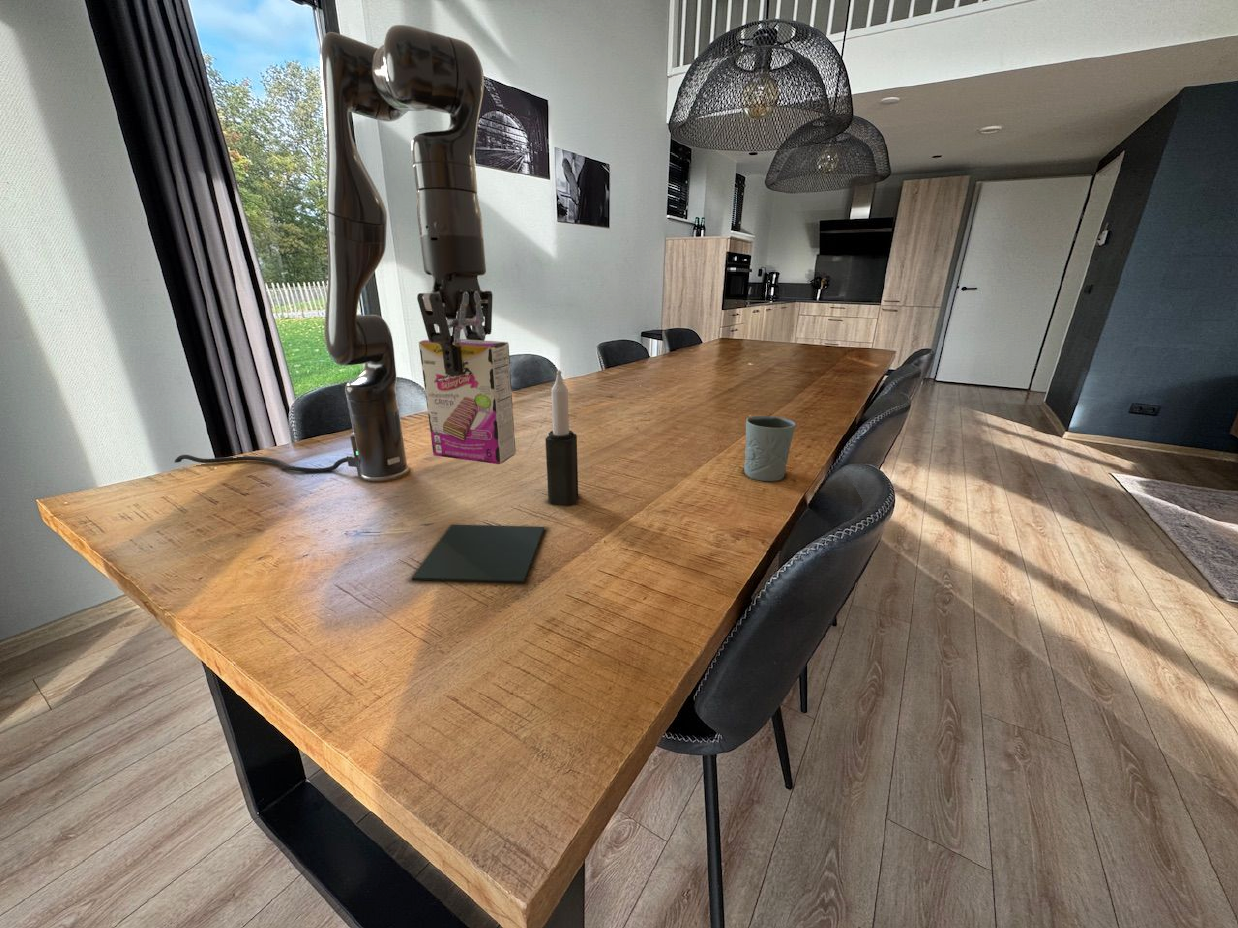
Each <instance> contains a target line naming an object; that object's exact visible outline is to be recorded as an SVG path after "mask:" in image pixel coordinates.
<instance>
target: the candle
mask: <svg viewBox="0 0 1238 928" xmlns="http://www.w3.org/2000/svg"><path fill="white" fill-rule="evenodd" d="M550 393H551V413H552V414H551V415H552V430H550V432H548V435H547V436H546V438H545V439H544V440H545V456H546V457H545V459H546V462H545V463H546V481H547V500H548V501H547V502H548V503H549V504H552V505H561V506H572V505H574V504H575V501H576V500H577V499H578V498H579V472H578V471H579V469H578V468H579V467H578V435H577V434H576V433H574V431H572V430H571V429H570V419H569V417H570V416H569V415H570V413H569V390H568V387H567V386H566V385H565V383H564V380H563V377H562V371H561V370H559V369H558V370H557V371H556V378H555V382H554V384H553V386H552V388H551V392H550Z"/></svg>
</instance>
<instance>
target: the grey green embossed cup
mask: <svg viewBox="0 0 1238 928" xmlns="http://www.w3.org/2000/svg"><path fill="white" fill-rule="evenodd" d="M796 425H797V424H796V422H795V421H793V420H791V419H789V418H786V417H785V418H784V417H779V416H772V415H754V416H750V417H748V418H746V420H745V445H744V446H745V448H744V467H743V468H744V470H743V471H744V474H745V475H746V476H747V477H748V478H751V479H753V480H757V481H761V482H777V481H781V480H782V479H784V477H785V474H786V470H787V464H788V460H789V456H790V452H791V446H792V442H793V437H794V433H795V429H796Z"/></svg>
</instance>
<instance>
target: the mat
mask: <svg viewBox="0 0 1238 928" xmlns="http://www.w3.org/2000/svg"><path fill="white" fill-rule="evenodd" d="M544 530H545V526H524V525H523V526H521V525H519V526H517V525H478V524H477V525H475V524H451V525H450V527H448V529H447V530H446V532H445V533H444V535H442V537H441V538H440V540H439V541H438V542H437V544H436V545H435V546H434V547H433V549H432V550H431V551H430V553H429V555H428V556H426V558H425V560H424V561H423V562H422V563H421V565H419V567H418V568H417V570H416V572H415V573H414V574H413V576H412V577H411V580H412V581H432V582H433V581H436V582H437V581H440V582H473V583H475V582H476V583H511V584H512V583H514V584H524V583H525V582H526V581H525V580H526V578H527V575H528V573H529V570H530V568H531V566H532V562H533V560H534V557H535V554H536V552H537V549H538V546H539V545H540V542H541V538H542V536H543V533H544Z"/></svg>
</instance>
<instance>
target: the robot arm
mask: <svg viewBox="0 0 1238 928" xmlns="http://www.w3.org/2000/svg"><path fill="white" fill-rule="evenodd" d="M384 37H385V38H384V42H383V45H381V46H380V47H379V48H377V47H375V46H373V45H369V44H367V43H364V42H362V41H359V40H356V39H354V38H351V37H349V36H346V35H343V34H341V33H338V32H333V31H328V32H327V33H326V34H325V35H324V36H323V39H322V42H321V50H320V76H321V77H320V78H321V91H322V103H323V104H322V105H323V106H322V107H323V118H324V130H325V144H326V200H325V201H326V207H325V208H326V238H327V239H326V240H327V290H326V291H327V292H326V302H325V303H326V305H325V316H324V342H325V348H326V350H327V353H328V356H329V357H330V359H331V360H332V362H334V363H335V364H337V365H340V366H356V365H364V368H363V370H362V371H361V373H360V374H359V375H357V376H356V377H354V378H353V379H351V380H350V381H348V382H347V383H345V386H344V393H345V399H346V402H347V407H348V412H349V417H350V420H351V421H350V422H351V428H352V432H351V433H350V435H349V436H350V437H349V438H350V442H351V447H352V452H353V453H351V454H349V455H347V456H346V457H342V458H340V459H338V460H337V461H335V462H334V463H333V465H331V466H326V467H305V466H297V465H291V464H288V463H286V462H285V461H282V460H281V459H277V458H273V457H267V456H257V455H242V456H243V457H238V456H235V457H237V458H233V457H234V456H226V457H214V458H213V457H212V458H202V457H197V456H193V455H190V454H181V455H179V456H177V457H176V458H175V459H174V463H181V462H182V461H183V460H188V461H192V462H195V463H200V464H214V463H216V464H217V463H228V462H238V461H240V462H241V461H254V462H265V463H271V464H276V465H278V466H281V467H282V468H284V469H285V470H288V471H294V472H299V473H310V474H311V473H314V474H315V473H328V472H331V471H335V470H336V469H338V468H339V467H340V466H341V465H342V464H343V463H347V466H348V467H352V468H355V469H356V472H357V476H358V477H360V478H361V479H362V480H363V481H368V482H375V483H376V482H386V481H387V482H388V481H392V480H396V479H399V478H401V477H404V476H405V475H407V474H408V473H409V470H410V469H409V465H408V459H407V454H406V448H405V439H404V435H403V428H402V422H401V421H402V420H401V414H400V410H399V409H400V408H399V404H398V397H397V391H396V386H397V380H398V379H397V368H396V358H395V348H394V340H393V335H392V332H391V329H390V327H389V325H388V323H387V322H386V320H385V319H384V318H383V317H382V316H380V315H377V314H358V309H359V301H360V297H361V295H362V293H363V290H364V288H365V287H366V286H367V284H368V282H369V281H370V279H371V278H372V276H373V275H374V273H375V271H376V270H377V269H378V267H379V266H380V263H381V261H382V260H383V257H384V255H385V252H386V247H387V232H388V231H387V230H388V229H387V227H388V213H387V209H386V208H387V207H386V205H385V203H384V201H383V198H382V196H381V194H380V192H379V189H378V188H377V186H376V185H375V182H374V181H373V178H372V177H371V175H370V174H369V171H368V170H367V168H366V165H365V164H364V162H363V160H362V158H361V155H360V153H359V151H358V148H357V146H356V144H355V140H354V137H353V133H352V129H351V124H350V113H352V114H355V115H359V116H362V117H365V118H368V119H369V118H370V119H373V120H376V121H380V122H387V123H388V122H390V123H391V122H395V121H397V120H399V119H401V118H402V117H403V116H404V115H405V114H407V113H408V112H424V111H427V110H429V111H432V112H433V111H434V112H439V113H443V114H448V115H449V124H448V125H449V126H448V128H447V129H445V130H435V131H434V130H433V131H425V132H421V133H418V134H417V135H415V136H414V137H413V139H412V141H411V158H412V165H413V173H414V181H415V182H414V183H415V188H416V216H417V223H418V224H417V225H418V232H419V240H420V250H421V256H422V257H421V258H422V264H423V271H424V273H425V274H426V275H428V276H432V280H433V281H432V288H431V291H429V292H419V293H418V294H417V296H416V300H417V304H418V307H419V310H420V311H419V312H420V314H421V318H422V322H423V325H424V329H425V332H426V335H427V340H429V341H430V342H434V343H438V344H439V345H440V346H441V347H442V353H443V361H444V368H445V372H446V374H447V375H450V376H459V375H462V374H463V366H462V357H461V347H459V343H460V339H461V331H462V330H463V333H464V337H465V339H467V340H481V341H486V336H487V335H491V334H492V325H493V296H494V295H493V292H492V291H491V290H482V289H481V286H480V284H479V280H478V277H479V276H485V274H486V272H487V267H486V266H487V265H486V253H485V243H484V231H483V222H482V221H483V220H482V219H483V218H482V211H481V207H480V201H479V195H478V184H477V173H476V172H477V171H476V161H475V160H476V144H477V143H476V142H477V135H478V134H477V133H478V125H479V118H480V114H481V113H480V112H481V107H482V101H483V97H484V88H485V87H484V86H485V75H484V70H483V66H482V62H481V60H480V58H479V55H478V54H477V52H476V50H475V49H474V48H473V46H472V45H470V44H468V42H466V41H464V40H461V39H459V38H455V37H452V36H447V35H444V34H440V33H436V32H433V31H429V30H425V29H422V28H420V27H416V26H411V25H405V24H396V25H392V26H391V27H389V29H388V30H387V32H386V34H385V36H384ZM483 324H484V325H483ZM435 325H436V326H437V327H438V328H437V329H438V330H437V331H436V328H435ZM450 329H451V332H450Z"/></svg>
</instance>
